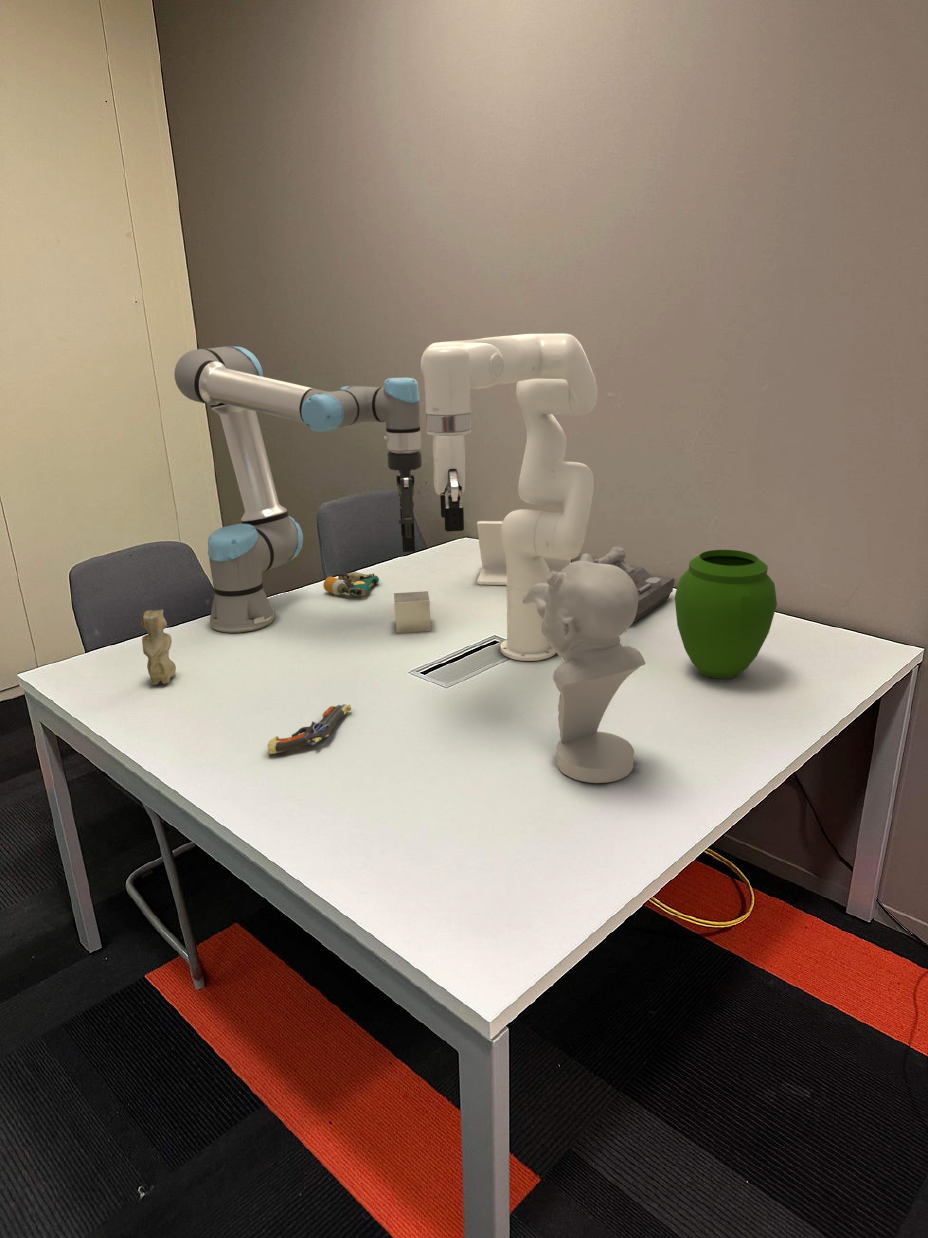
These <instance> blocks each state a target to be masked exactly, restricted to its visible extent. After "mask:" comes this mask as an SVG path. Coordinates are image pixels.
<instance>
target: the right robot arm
mask: <svg viewBox="0 0 928 1238" xmlns="http://www.w3.org/2000/svg"><path fill="white" fill-rule="evenodd" d="M587 356H588V355H587V354H586V352H585V350H584V347H583V346H582V344H581V342H580V341H579V339H577V338H576V337H575V336H574V335H573V334H570V333H525V334H524V333H523V334H514V335H513V334H512V335H502V336H492V337H491V336H489V337H483V338H476V339H475V338H474V339H466V340H465V339H464V340H452V341H441V342H432V343H431V344H429V345H428V346H427V347H426V349H425V350H424V351H423V353H422V356H421V359H420V371H421V375H422V377H423V379H424V397H425V399H424V401H425V402H424V403H425V424H426V434H427V435H429V436H432V469H433V471H432V473H433V488H434V491H435V494H437V495H438V496H439V497H440V498H439V499H440V501H439V502H440V516H441V518H442V519H444V531H446V532H462V531H464V530H465V516H464V515H465V514H464V506H463V497H462V495H463V494H464V493H465V491H466V439H465V438H466V435H470V434H471V433H472V401H471V400H472V399H471V397H472V396H471V395H472V394H471V389H475V390H478V389H479V390H483V389H488V388H489V389H490V388H491V387H493V386H496V385H508V384H513V383H516V387H515V388H516V389H515V391H516V392H515V395H516V396H515V397H516V401H517V404H518V407H519V410H520V413H521V416H522V419H523V422H524V426H525V430H526V442H525V448H524V452H523V458H522V463H521V468H520V473H519V478H518V486H517V490H518V491H517V492H518V496H519V499H520V500H521V501H523V502H524V503H527V504H529V505H532V506H533V505H534V506H542V507H551V508H552V507H553V508H562V509H563V512H557V511H547V510H540V509H530V508H529V509H528V508H521V509H515V510H512V511H510V512H509V513H508V514H506V515H505V517H504V518H503V520H502V521H503V522H502V527H501V536H502V542H503V546H504V551H505V558H506V573H507V585H506V639H505V640H503V641H502V642H501V643H500V646H499V647H500V653H501V654H502V655H503V656H504V657H506V658H508V659H512V660H514V661H515V660H516V661H522V662H535V661H536V662H537V661H543V660H547V659H550V658H552V657H554V656H555V655H556V654H557V653H556V652H555V651H554V650H553V649H552V648H551V646H550V644H549V643H548V642H547V640H546V637H545V636H544V634H543V633H542V623H543V621H544V619H543V618H541V617H540V615H539V614H538V612H537V604H536V603H535V602H533V603H528V604H523V602H522V601H523V599H524V597H525V596H526V595H527V593H528V591H529V590H530V588H531V587H533V586H534V585H536V584H539V583H547V576H548V574H549V573H550V570H549V567H548V565H547V563H546V561H545V559H544V558H543V557H547V558H555V559H566V560H570V559H571V560H574V559H576V558H577V557H578V556H580V554H581V552H582V550H583V547H584V544H585V539H586V535H587V531H588V525H589V519H590V515H591V514H590V513H591V509H592V504H593V498H594V494H595V493H594V492H595V478H594V473H593V471H592V469H591V467H589V466H588V465H587V464H585V463H582V462H577V461H565V456H566V451H567V444H568V440H567V435H566V433H565V430H564V429H563V427H562V426H561V424H560V423H559V421H558V420H557V419H556V417H555V416H554V415H557V416H558V415H559V416H561V415H562V416H585V415H588V414H590V413H591V412H592V411H593V410H594V409H595V408H596V405H597V402H598V399H599V398H598V397H599V389H598V383H597V380H596V377H595V373H594V372H593V369H592V367H591V364H590V361H589V359H588V357H587Z"/></svg>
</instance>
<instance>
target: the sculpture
mask: <svg viewBox="0 0 928 1238" xmlns="http://www.w3.org/2000/svg"><path fill="white" fill-rule="evenodd" d="M142 619H143V620H142V621H141V626H142V627H143V629H145V630H146V632H147V634H145V635H143V636H142V637H141V643H142V652H143V654H144V655H145V657H146V658H147V664H146V665H147V667H146V668H147V672H148V675H149V677H150V682H151V685H159V684H160V682H161V683H162V685H163V684H169V683H170V681H171V678H173V677H174V676H175V674H176V671H177V666H176V663H175V662H174V661H173V660H172V659H170V657H169V656H170V649H171V647H172V643H173V641H172V635H171V634H169V633H167V632H164V630H165V629H166V628H167V627H168V622H167V620H166V619H165V617H164V609H162V608H161V609H157V610H152V609H147V610H145V611H144V612H143V615H142Z"/></svg>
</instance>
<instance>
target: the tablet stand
mask: <svg viewBox="0 0 928 1238" xmlns="http://www.w3.org/2000/svg"><path fill="white" fill-rule="evenodd" d="M502 522H503V520H477V522H476V531H477V537H478V544H479V551H480V557H481V558H480V559H481V570H480V573H479V575H478V577H477V580H476V581H477V582H476V584H478V585H484V586H485V585H486V586H487V585H489V586H490V585H491V586H507V573H506V558H505V551H504V546H503V542H502V536H501V527H502ZM543 558H544V559H545V561H546V563H547V565H548V567H549V570H550V572H552V571H554V572H560V573H561V571H562V570H563V569H564V568H565V567H566V566H568V565H569V564H571V563H572V562H571V560H572V559H570V560H566V559H555V558H547V557H543Z"/></svg>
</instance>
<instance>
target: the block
mask: <svg viewBox="0 0 928 1238" xmlns="http://www.w3.org/2000/svg"><path fill="white" fill-rule="evenodd" d="M393 599H394V600H393V602H394V619H395V633H396V634H410V633H411V634H412V633H425V632H431V631H432V623H431V606H430V605H431V604H430V603H431V602H430V596H429V591H408V592H394V593H393Z"/></svg>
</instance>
